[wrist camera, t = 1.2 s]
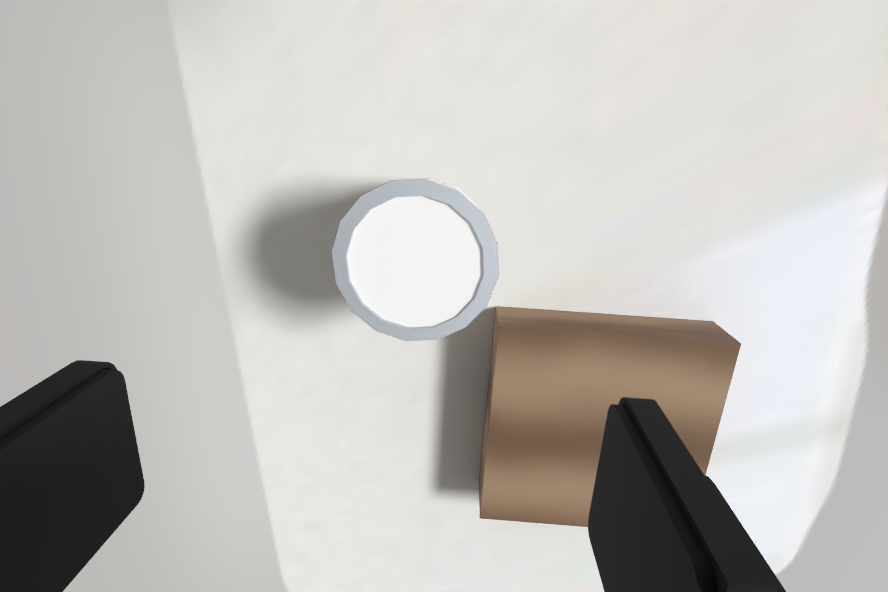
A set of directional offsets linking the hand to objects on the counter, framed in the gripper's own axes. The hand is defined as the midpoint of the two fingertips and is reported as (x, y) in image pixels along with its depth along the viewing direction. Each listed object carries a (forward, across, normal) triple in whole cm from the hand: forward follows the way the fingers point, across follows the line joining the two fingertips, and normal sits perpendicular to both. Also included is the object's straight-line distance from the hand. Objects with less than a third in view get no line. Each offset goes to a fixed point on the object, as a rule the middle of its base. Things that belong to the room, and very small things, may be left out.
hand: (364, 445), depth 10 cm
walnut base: (+18, -10, +10) cm, 23 cm away
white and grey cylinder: (+19, 0, 0) cm, 19 cm away
